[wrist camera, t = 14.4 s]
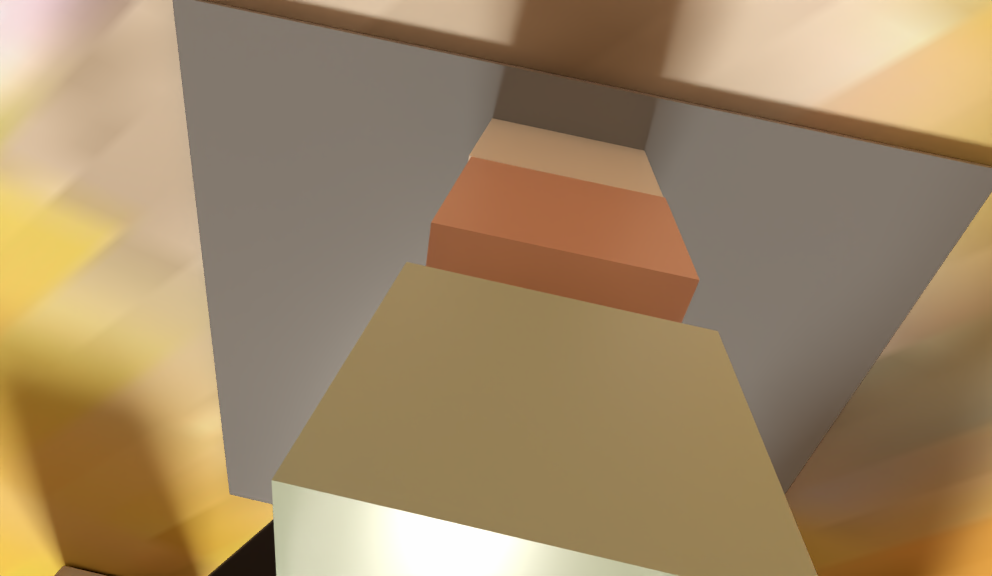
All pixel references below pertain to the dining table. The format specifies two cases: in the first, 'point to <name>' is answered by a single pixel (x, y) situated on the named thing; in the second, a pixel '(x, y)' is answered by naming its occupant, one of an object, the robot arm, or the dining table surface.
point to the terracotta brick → (564, 239)
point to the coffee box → (75, 572)
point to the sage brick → (530, 447)
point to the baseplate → (402, 145)
